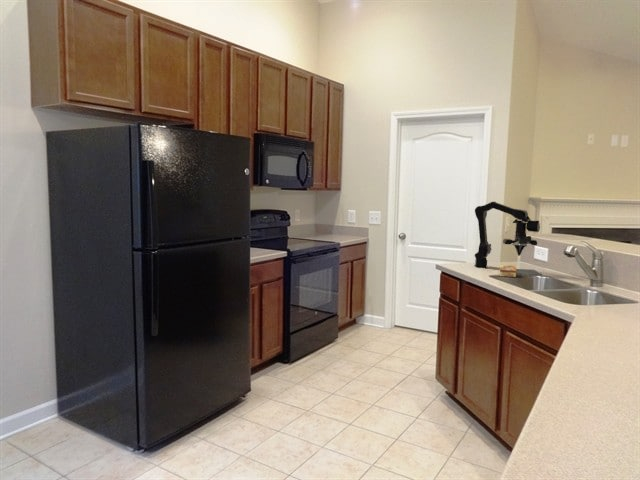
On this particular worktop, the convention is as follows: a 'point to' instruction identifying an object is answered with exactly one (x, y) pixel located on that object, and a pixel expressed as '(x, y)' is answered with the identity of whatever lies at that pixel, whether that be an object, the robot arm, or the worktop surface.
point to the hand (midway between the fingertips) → (518, 255)
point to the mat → (527, 272)
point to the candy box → (508, 271)
